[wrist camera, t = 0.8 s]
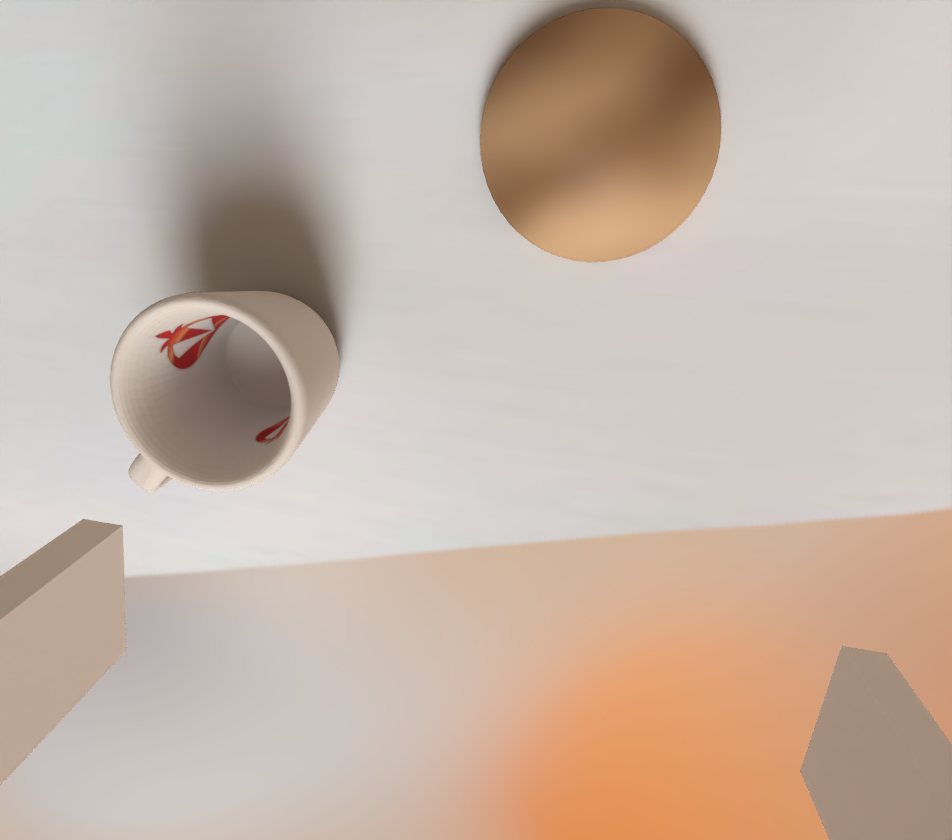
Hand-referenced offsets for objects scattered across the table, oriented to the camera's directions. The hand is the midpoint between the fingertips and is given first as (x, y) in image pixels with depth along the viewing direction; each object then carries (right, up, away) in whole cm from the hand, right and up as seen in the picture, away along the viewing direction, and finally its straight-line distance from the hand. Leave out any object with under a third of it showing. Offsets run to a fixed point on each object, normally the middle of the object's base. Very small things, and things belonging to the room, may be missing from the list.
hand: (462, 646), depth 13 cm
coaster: (+5, +16, +18) cm, 25 cm away
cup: (-10, +6, +23) cm, 26 cm away
